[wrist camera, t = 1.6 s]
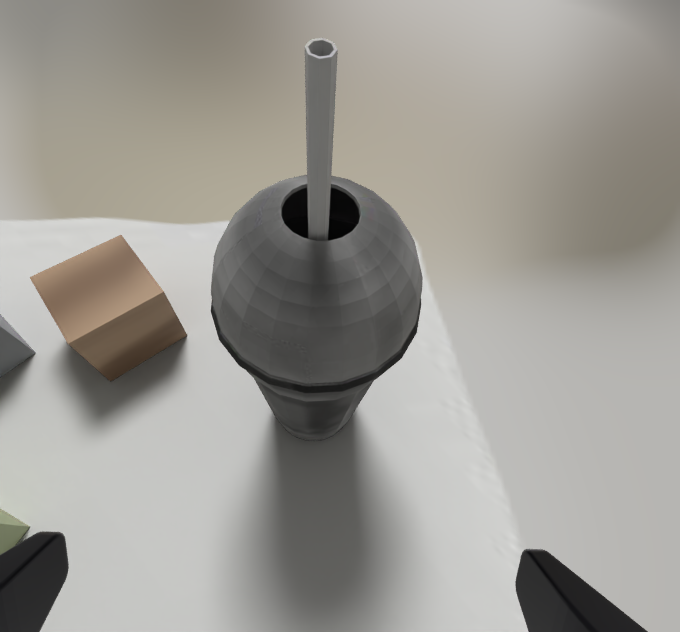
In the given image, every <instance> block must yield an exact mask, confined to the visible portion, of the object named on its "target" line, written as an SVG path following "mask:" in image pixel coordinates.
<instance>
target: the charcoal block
mask: <svg viewBox="0 0 680 632" xmlns="http://www.w3.org/2000/svg"><path fill="white" fill-rule="evenodd" d="M33 354H35V352H34V350H33V349H32V348H31V347H30V346H29V345H28V344H27V343H26V342H25V341H24V340H23V338H22V337H21V336H20V335H19V334H18V333H17V332H16V331H15V330H14V329H13V328H12V327H11V325H10V324H9V323H8V322H7V321H6V320H5V319H4V318H3V317H2V316H1V315H0V377H2V376H3V375H5V374H6V373H8V372H9V371H10V370H12V369H13V368H15V367H16V366H18V365H19V364H20V363H22V362H23V361H25V360H26V359H28V358H29V357H30V356H32V355H33Z"/></svg>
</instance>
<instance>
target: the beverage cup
mask: <svg viewBox="0 0 680 632" xmlns="http://www.w3.org/2000/svg"><path fill="white" fill-rule="evenodd" d="M337 51H338V50H337V48H336V46H335V44H334V42H332V41H330V40H327V39H324V38H318V39H312V40H310V41H309V42H308V43H307V45H306V46H305V83H306V84H305V85H306V86H305V87H306V136H307V137H306V139H307V175H304V176H299V177H294V178H289V179H285V180H282V181H279V182H278V183H275V184H274V185H272V186H269V187H267V188H265V189H263V190H261V191H259V192H258V193H257V194H256V195H255V196H254V197H253V198H251V200H249V201H248V202H247V203H246V204H245V205H244V206H243V207H242V208H241V209H240V210H239V211H237V212H236V213H235V215H234V216H233V218H232V219H231V221H230V223H229V224H228V226H227V228H226V230H225V232H224V234H223V236H222V238H221V240H220V241H219V243H218V245H217V249H216V252H215V255H214V264H213V274H212V284H211V296H212V305H211V313H212V317H213V320H214V324H215V327H216V330H217V334H218V337H219V340H220V341H221V343H222V344H223V345H224V347H225V348H226V349H227V350H228V352H229V353H230V354H231V356H232V357H233V358H234V359H235V361H236V362H237V363H238V365H239V366H241V367H242V368H244V369H246V370H247V372H248V373H249V374H250V375H251V376H252V377H253V378H254V379H255V381H256V383H257V385H258V386H259V388H260V390H261V392H262V394H263V395H264V397H265V399H266V401H267V403H268V404H269V406H270V408H271V410H272V412H273V413H274V415H275V416H276V418H277V419H278V420H279V421H280V423H281V424H282V425H283V427H284V428H285V429H286V430H287V431H288V432H289V433H291V434H292V435H294V436H295V437H297V438H300V439H304V440H308V441H315V440H323V439H326V438H328V437H331V436H333V435H334V434H336V433H337V432H338V431H339V430H340V429H341V428H343V426H344V425H345V424H346V423H347V422H348V420H349V419H350V417H351V416H352V414H353V413H354V411H355V409H356V408H357V406H358V405H359V403H360V401H361V400H362V398H363V397H364V395H365V394H366V392H367V390H368V389H369V387H370V386H371V384H372V382H373V381H374V380H375V379H377V378H378V377H379V376H380V375H382V374H383V373H384V372H385V371H387V370H388V369H389V368H390V367H391V366H393V365H394V364H395V363H396V362H398V361H399V360H400V359H401V358H402V357H403V355H404V353H405V351H406V350H407V348H408V346H409V345H410V343H411V341H412V340H413V338H414V336H415V335H416V333H417V327H418V321H419V315H420V308H421V292H422V273H421V268H420V264H419V259H418V255H417V251H416V246H415V242H414V240H413V238H412V236H411V234H410V232H409V231H408V229H407V227H406V226H405V224H404V223H403V221H402V220H401V218H400V217H399V215H398V214H397V212H396V211H395V210H394V209H393V208H392V207H391V206H390V205H389V204H388V203H387V202H385V201H384V200H383V199H382V198H381V197H379V196H378V195H377V194H376V193H375V192H373V191H371V190H370V189H367V188H365V187H363V186H361V185H358V184H357V183H354V182H352V181H350V180H348V179H344V178H340V177H335V176H331V169H332V150H333V130H334V129H333V128H334V109H335V91H336V71H337Z"/></svg>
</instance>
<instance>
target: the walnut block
mask: <svg viewBox="0 0 680 632" xmlns="http://www.w3.org/2000/svg"><path fill="white" fill-rule="evenodd" d="M30 279H31V281H32V282H33V284H34V286H35V287H36V289H37V291H38V293H39V294H40V296H41V298H42V300H43V301H44V303H45V305H46V306H47V308H48V310H49V312H50V313H51V315H52V317H53V319H54V320H55V322H56V324H57V325H58V327H59V329H60V331H61V332H62V334H63V336H64V338H65V339H66V341H67V343H68V344H69V345H70V346H71V347H72V348H73V349H74V350H76V351H77V352H78V353H79V354H80V355H81V356H82V357H83V358H85V359H86V360H87V361H88V362H89V363H90V364H91V365H92V366H94V367H95V368H96V369H97V370H98V371H99V372H100V373H101V374H102V375H104V376H105V377H106V378H107V379H108V380H109V381H110V382H111V381H113V380H114V379H116V378H118V377H119V376H121V375H123V374H124V373H126V372H128V371H129V370H131V369H133V368H134V367H136V366H138V365H139V364H141V363H142V362H144V361H146V360H147V359H149V358H151V357H152V356H154V355H156V354H157V353H159V352H161V351H162V350H164V349H166V348H167V347H169V346H171V345H172V344H174V343H176V342H177V341H179V340H181V339H182V338H184V337H186V336H187V334H186V332H185V330H184V328H183V326H182V325H181V323H180V321H179V319H178V317H177V315H176V314H175V312H174V310H173V308H172V306H171V304H170V302H169V301H168V299H167V297H166V295H165V293H164V291H163V290H162V289H161V287H160V286H159V285H158V283H157V282H156V281H155V279H154V278H153V277H152V275H151V274H150V273H149V271H148V270H147V269H146V267H145V266H144V265H143V263H142V262H141V261H140V259H139V258H138V257H137V255H136V254H135V253H134V251H133V250H132V249H131V247H130V246H129V245H128V243H127V242H126V241H125V239H124V238H123V237H122V235H119V236H117V237H115V238H113V239H111V240H109V241H107V242H104V243H102V244H100V245H98V246H96V247H94V248H92V249H89V250H87V251H85V252H83V253H81V254H79V255H77V256H74V257H72V258H70V259H68V260H66V261H64V262H62V263H59V264H57V265H55V266H53V267H51V268H49V269H47V270H44V271H42V272H40V273H38V274H36V275H34V276H32V277H30Z"/></svg>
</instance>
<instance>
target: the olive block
mask: <svg viewBox="0 0 680 632" xmlns="http://www.w3.org/2000/svg"><path fill="white" fill-rule="evenodd" d="M29 527H30V526H28V525H26V524H25V523H23V522H21V521H20V520H18V519H17V518H15V517H13V516H12V515H10V514H8V513H7V512H5V511H3V510H2V509H0V555H1V554H2V553H4V552H6V551H7V550H9V549H11V548H12V547H14V546H15V545H16V544H17V543H18V542H19V540H20V539H21V538H22V536H23V535H24V534H25V533H26V531H27V530H28V529H29Z"/></svg>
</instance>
